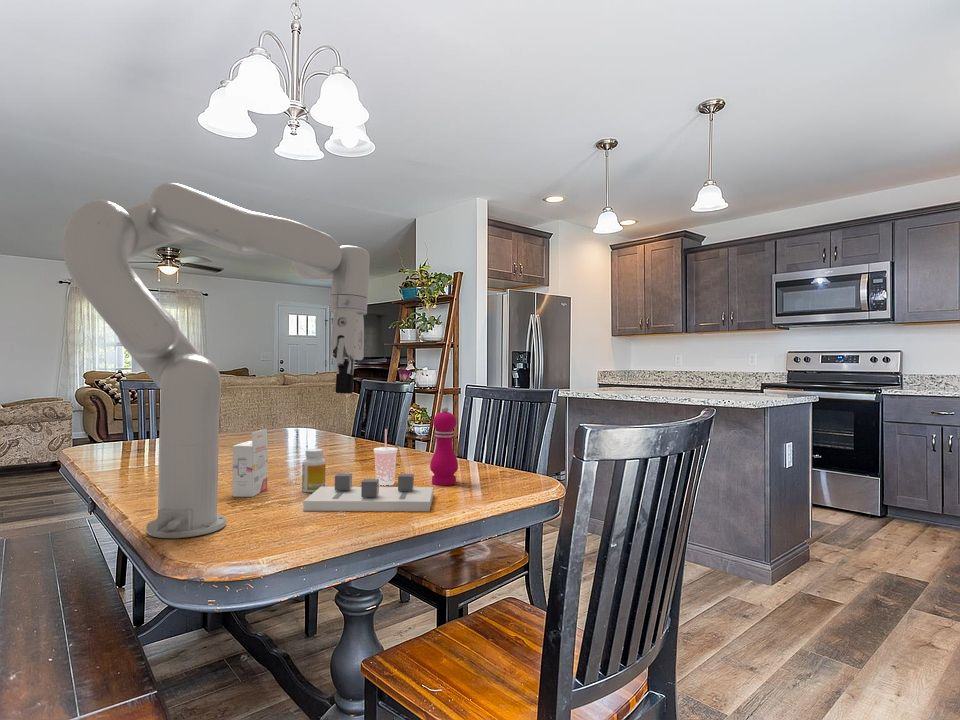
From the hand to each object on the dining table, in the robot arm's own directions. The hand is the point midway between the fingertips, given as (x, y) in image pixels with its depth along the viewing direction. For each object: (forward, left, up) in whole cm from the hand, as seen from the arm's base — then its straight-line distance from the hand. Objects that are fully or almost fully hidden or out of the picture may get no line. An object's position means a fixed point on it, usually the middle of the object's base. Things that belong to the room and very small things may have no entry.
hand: (344, 393), depth 114 cm
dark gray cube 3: (+9, -12, -22) cm, 27 cm away
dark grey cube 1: (+9, +2, -22) cm, 24 cm away
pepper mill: (+27, -20, -25) cm, 42 cm away
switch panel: (+6, -5, -24) cm, 25 cm away
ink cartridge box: (+15, +25, -25) cm, 38 cm away
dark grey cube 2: (+3, -5, -22) cm, 23 cm away
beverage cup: (+26, -5, -25) cm, 36 cm away
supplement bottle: (+18, +11, -25) cm, 32 cm away
